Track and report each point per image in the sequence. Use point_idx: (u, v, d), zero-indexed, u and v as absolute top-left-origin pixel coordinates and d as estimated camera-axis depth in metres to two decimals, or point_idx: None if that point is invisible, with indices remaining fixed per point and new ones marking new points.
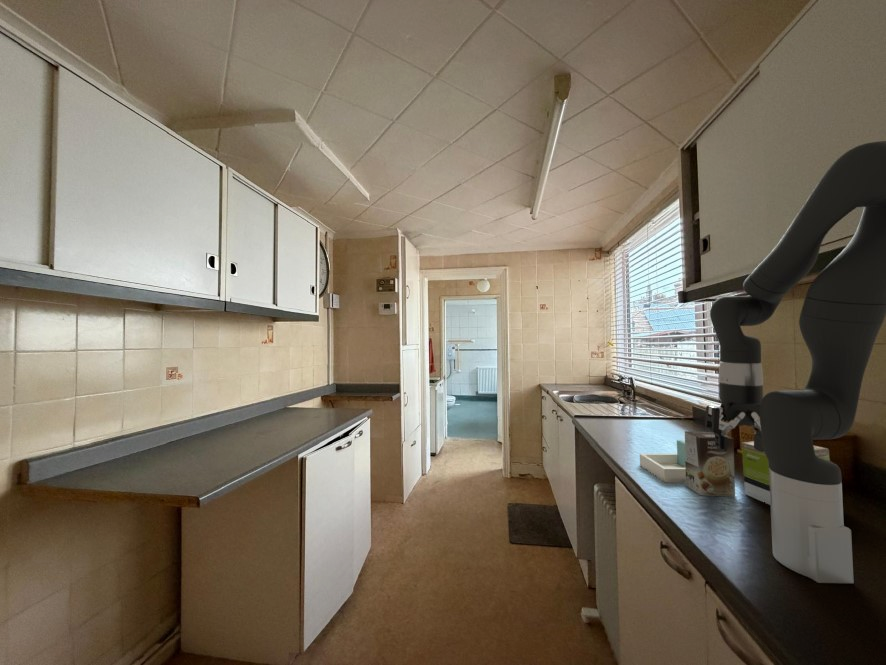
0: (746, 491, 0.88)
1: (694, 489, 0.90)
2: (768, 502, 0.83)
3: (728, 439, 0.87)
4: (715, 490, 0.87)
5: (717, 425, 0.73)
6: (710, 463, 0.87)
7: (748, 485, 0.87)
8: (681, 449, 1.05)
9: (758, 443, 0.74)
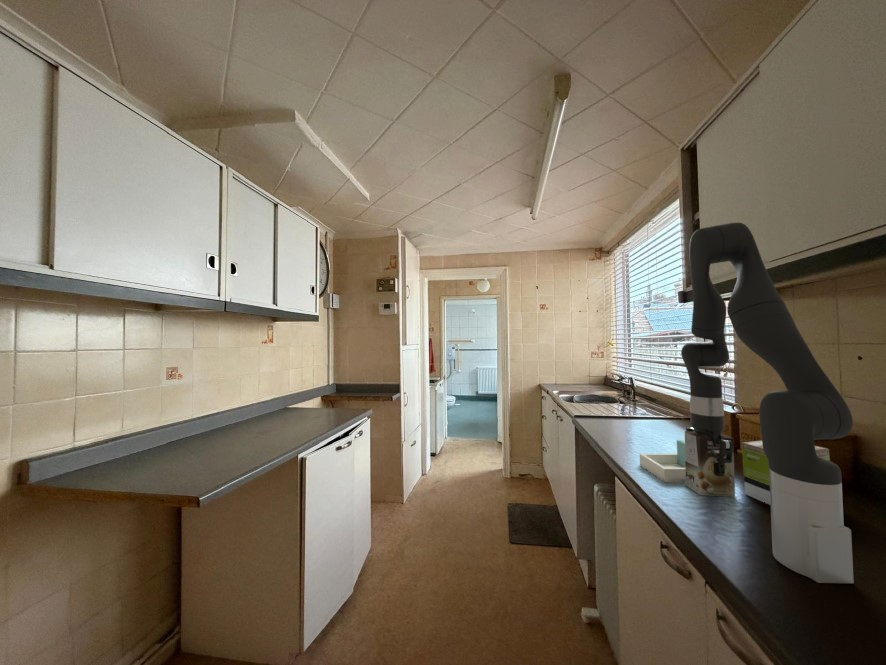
0: (746, 491, 0.88)
1: (694, 489, 0.90)
2: (768, 502, 0.83)
3: (728, 439, 0.87)
4: (715, 490, 0.87)
5: None
6: (710, 463, 0.87)
7: (748, 485, 0.87)
8: (681, 449, 1.05)
9: None
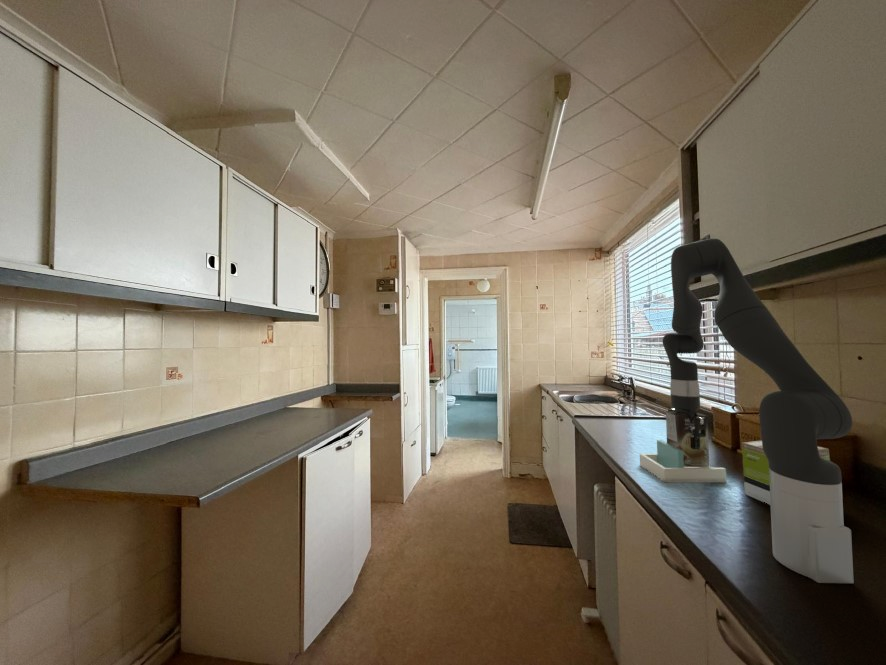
0: (746, 491, 0.88)
1: None
2: (768, 502, 0.83)
3: None
4: (692, 462, 0.99)
5: None
6: (687, 438, 0.99)
7: (748, 485, 0.87)
8: (661, 449, 1.06)
9: None
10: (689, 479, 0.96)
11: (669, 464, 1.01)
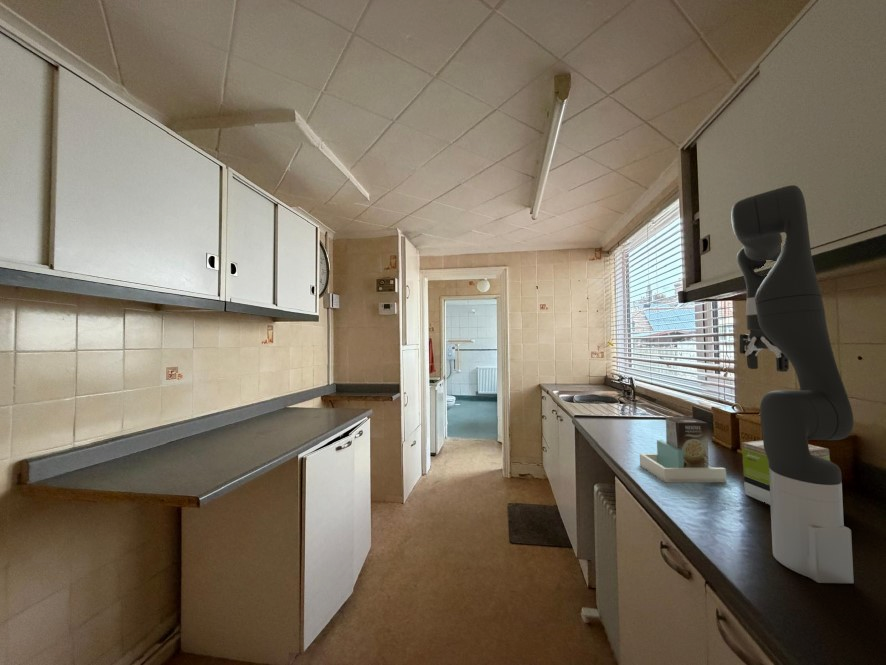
0: (746, 491, 0.88)
1: None
2: (768, 502, 0.83)
3: (703, 424, 0.99)
4: None
5: None
6: (687, 445, 0.99)
7: (748, 485, 0.87)
8: (661, 449, 1.06)
9: (754, 363, 0.94)
10: (689, 479, 0.96)
11: (669, 464, 1.01)
